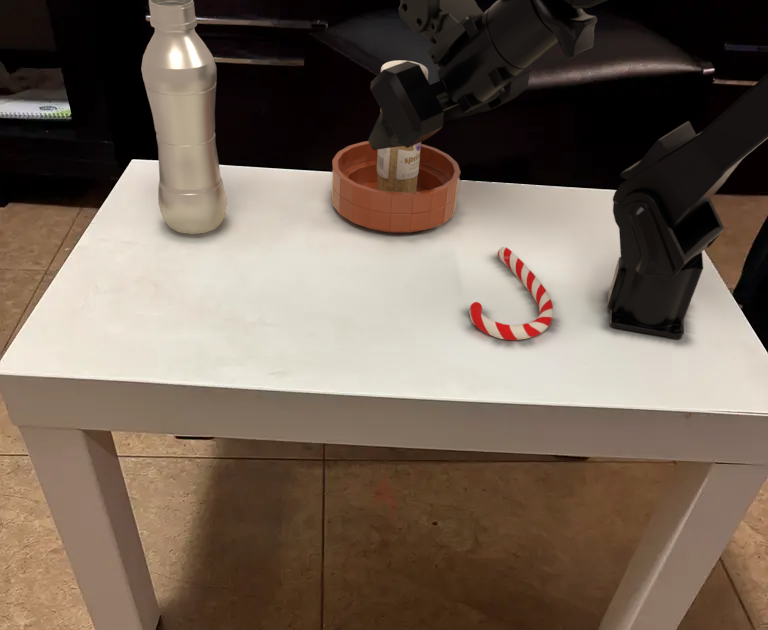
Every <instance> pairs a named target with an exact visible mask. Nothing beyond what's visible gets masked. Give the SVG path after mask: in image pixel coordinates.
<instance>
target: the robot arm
mask: <svg viewBox="0 0 768 630" xmlns="http://www.w3.org/2000/svg"><path fill="white" fill-rule="evenodd" d="M608 1H609V0H496V1H495V2H494V3H493V4H492V5H491V6H490V7H489V8H488V9H486V10H485V11H483V10H482V9H481V8H480V7H479V6H478V3H477V2H476V0H399V2H400V5H399V7H398V14H399V18H400V19H401V20H402V21H403V22H404V23H405V24H406V25H407V26H408V27H409V28H410V29H411V30H412V31H413V32H414V33H415V34H420V33H421V34H422V35H423V37H425V39H427V40H428V41H429V42H430V43H431V44H433V45H432V46H431V47H430V48H429V49H428V50H427V51H426V52H427V54H428V56H429V58H430V60H431V61H432V63H433V65H437V66H438V68H437V69H436V71H437V75H438V79H439V80H438V81H436V82H433V83H431V84H430V82H429V79H428V80H427V78H426V77H425V75H424V73H423V71H422V69H421V67H420V65H418V64H415V63H412V62H413V61H412V62H409V61H410V60H405V61H406V62H403V63H401V64H398V65H395V66H393V67H390V68H387V69H384V70H383V71H382V72H381V71H380V72H379V74H378V75H377V76H376V77H374V78H373V80H371V82H370V89H369V90H370V91H371V93H372V95H373V97H374V99H375V101H376V102H377V105H378V106H379V108H380V109H381V113H379V115H378V117H377V119H376V122H375V123H374V125H373V128H372V130H371V132H370V135H369V137H368V139H367V141H368V142H369V144H370V146H371V147H372V149H373V150H378V149H385V148H392V147H400V146H404V147H406V148H409V147H411V146H413V145H416V144H418V143H420V142H421V143H422V142H424V141H426V140H428V139H429V138H430V137H432V136H434V135H435V134H436V133H438V132H439V131H440V130H441V129H442V128H443V127H444V122H448V121H452V120H455V119H456V120H457V119H460V118H463V117H467V116H471V115H477V114H479V113H483V112H484V113H485V112H488V111H491V110H493V109H495V108H498V107H500V106H502V105H503V104H506V103H508V102H510V101H512V100H514V99H516V98H517V97H518V96H520V94H522V93H523V92H525V91H526V90H527V89H528V88H529V83H530V82H529V81H530V76H531V73H530V72H531V71H532V70H533V66H532V65H534V63H536V62H537V61H538V60H540V59H541V58H542V57H543V56H544V55H546V54H547V53H548V52H549V51H551V50H552V49H553V48H555V46H557V45H558V44H559V46H560V47H561V50H562V52H563V54H564V57H566V58H567V59H568V60H569V59H573V58H576V57H577V56H579V55H583V54H584V53H587V52H588V51H589V52H590V51H591V50H592V49H593V47H594V40H595V39H594V38H595V27H596V24H597V22H598V18H597V16H596V15H591V14H588V13H586V12H585V11H584V10H583V9H587V8H592V7H595V6H598V5H601V4H602V3H605V2H608ZM502 89H503V90H504V92H503V91H502ZM766 140H768V72H767V73H766V74H765V75H764V76H763V77H762V78H760V79H759V80H758V81H757V82H756V83H755V84H754V85H753V86H751V87H750V89H748V90H747V91H746V92H745V93H744V94H743V95H741V96H740V97H739V98H738V99H737V100H736V101H734V102H733V104H731V105H730V106H729V107H728V108H727V109H726V110H725V111H723V112H722V113H721V114H720V115H718V117H717V118H715V119H714V121H712V122H711V123H710V124H709V125H708V126H707V127H706V128H704V129H703V130H701V131H700V132H699V133H696V131H695V130H694V128H693V126H692V124H691V122H690V121H689V120H688V121H686V122H684V123H683V124H681V125H679V126H678V127H676V128H675V129H672V130H671V131H670V132H668V133H667V134H665V135H664V136H662V137H660V138H659V139H658V140H656V141H655V142H654V144H652V146H651V147H650V148H649V149H648V150H647V152H646V153H645V154H644V155H643V157H642V158H641V159H640V160H639V161H637V162H635V163H634V164H632V165H631V166H629V167H628V168H626V169H625V170H623V171H622V172H621V173H620V174H619V176H620V178H622V179H625V180H624V181H623V182H622V183H621V184H620V185H619V186H618V188H617V189H616V190H615V192H614V194H613V196H612V202H613V204H612V213H613V218H614V223H615V224H616V225H617V228H618V231H619V233H618V234H619V249H620V250H619V251H620V256H619V257H618V259H617V263H616V266H615V269H614V274H613V277H612V279H611V283H610V287H609V291H608V293H607V305H606V308H607V310H608V311H610V317H609V318H610V319H609V325H610V326H611V327H613V328H616V329H622V330H628V331H633V332H638V333H639V332H640V333H646V334H650V335H656V336H661V337H668V338H672V339H682V338H683V337H684V334H685V324H684V323H685V322H684V321H685V319H686V316H687V313H688V310H689V308H690V305H691V302H692V299H693V297H694V294H695V292H696V288H697V287H698V284H699V280H700V278H701V274H702V273H703V269H704V262H703V261H704V260H703V251H704V250H706V249H708V248H710V247H711V246H712V245H713V243H714V242H715V241H717V239H718V238H719V237H720V236H721V234H722V233H723V232H724V229H725V227H724V224H723V222H722V221H721V220H722V219H721V218H720V215H719V213H718V212H717V210H716V207H715V206H714V203H713V201H712V199H711V198H712V197H713V196H714V195H715V194H716V193H717V192H718V190H719V189H720V188H722V186H723V185H724V184H725V182H726V181H727V180H728V178H729V177H730V175H731V174H732V173H733V172H734V171H735V169H736V168H737V167H738V166H739V164H740V163H741V162H742V160H743V159H745V158H746V157H747V156H748V155H749V154H750V153H752V152H753V151H754V150H755V149H757V147H759V146H760V145H761V144H763V143H764V142H765V141H766Z"/></svg>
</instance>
